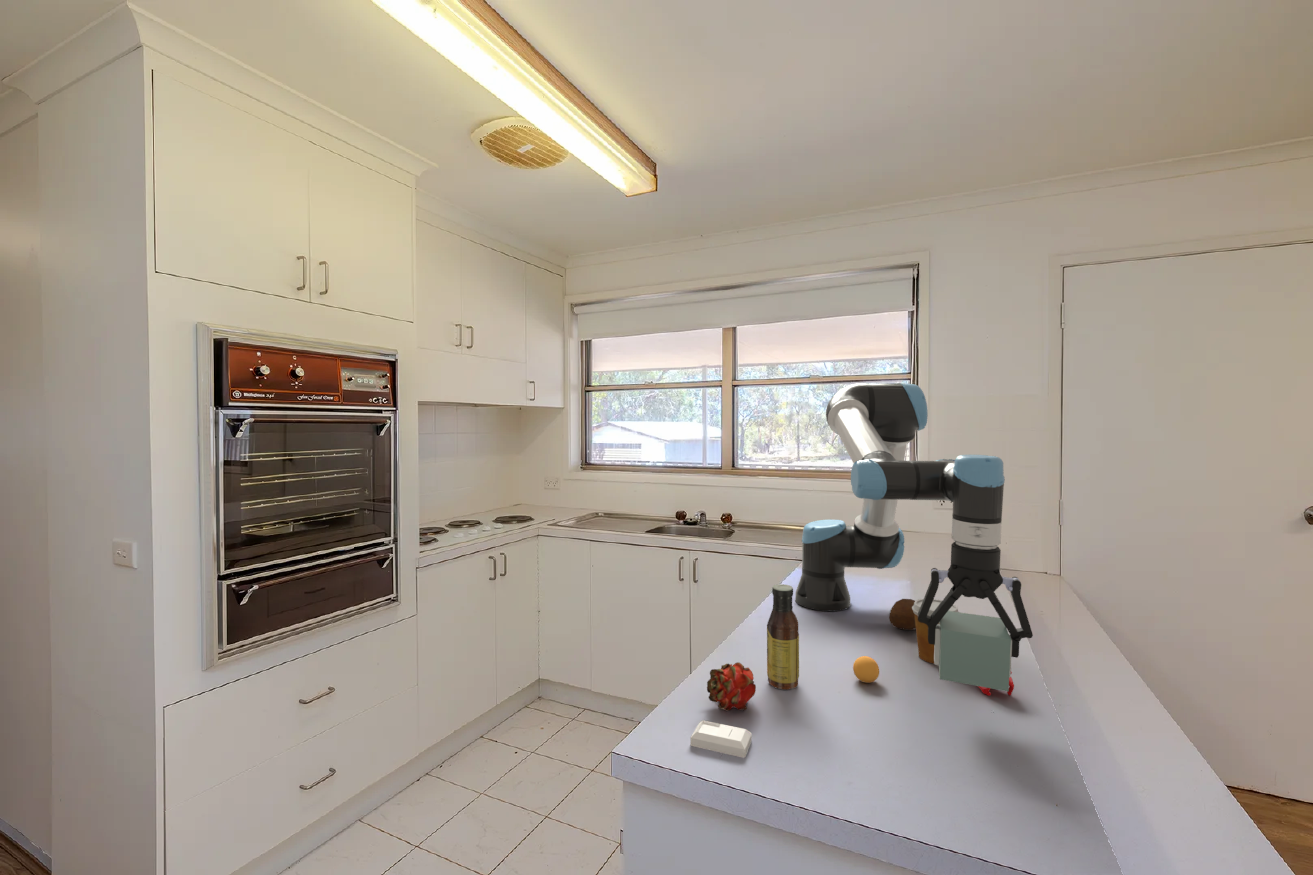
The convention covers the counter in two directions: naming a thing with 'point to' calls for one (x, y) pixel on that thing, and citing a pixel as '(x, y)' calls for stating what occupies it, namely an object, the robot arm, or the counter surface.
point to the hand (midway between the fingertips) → (970, 667)
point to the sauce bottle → (782, 640)
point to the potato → (903, 615)
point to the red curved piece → (1011, 687)
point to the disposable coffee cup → (926, 630)
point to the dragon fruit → (731, 686)
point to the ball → (866, 669)
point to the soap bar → (721, 738)
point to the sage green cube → (974, 650)
